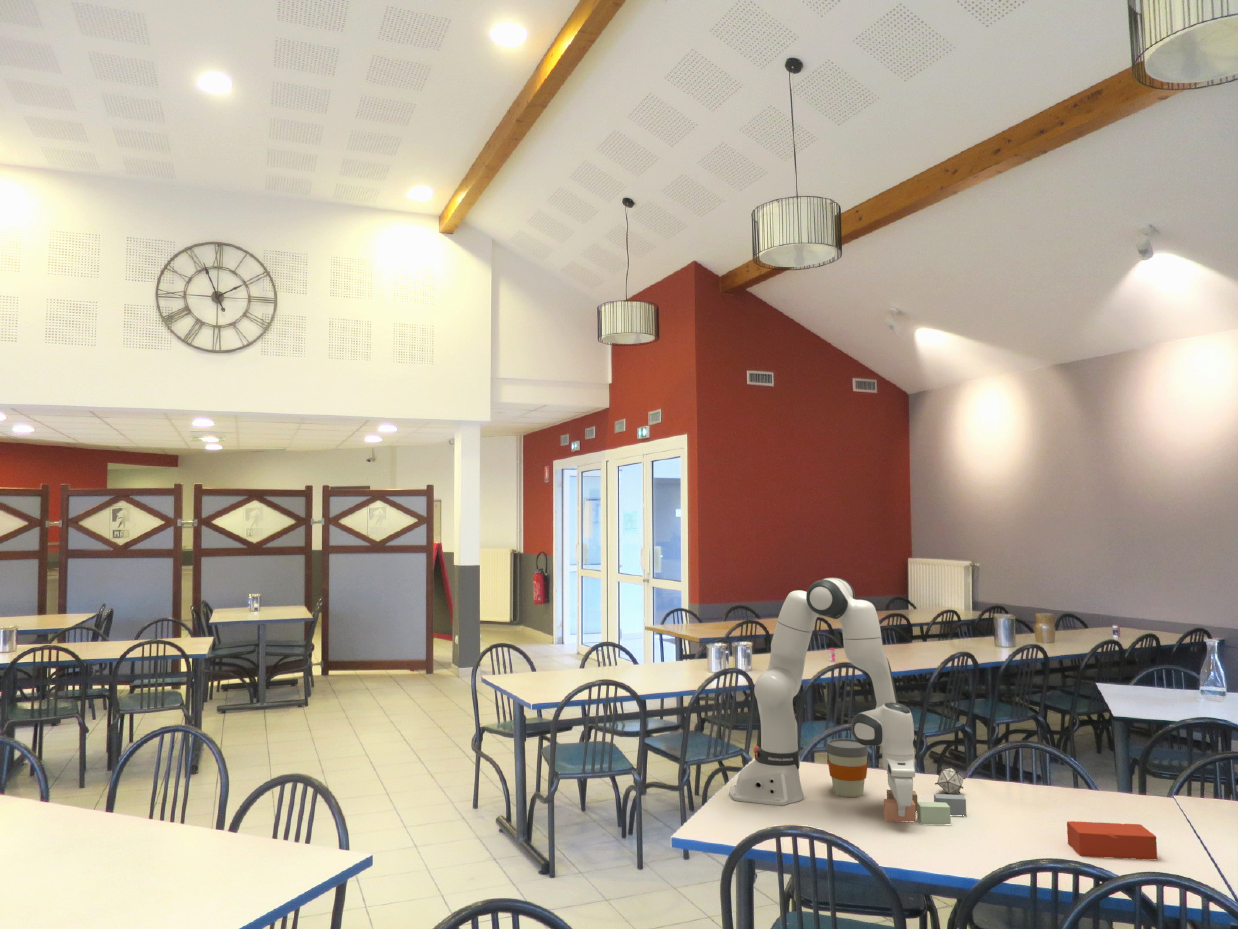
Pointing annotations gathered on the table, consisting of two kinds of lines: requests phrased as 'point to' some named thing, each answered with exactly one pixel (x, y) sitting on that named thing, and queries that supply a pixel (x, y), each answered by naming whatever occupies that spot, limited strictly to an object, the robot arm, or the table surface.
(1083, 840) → the brick
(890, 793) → the walnut block
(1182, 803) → the table surface
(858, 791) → the reusable coffee cup
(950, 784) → the game die
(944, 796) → the slate block
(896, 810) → the terracotta block
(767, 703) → the robot arm
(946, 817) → the sage block
